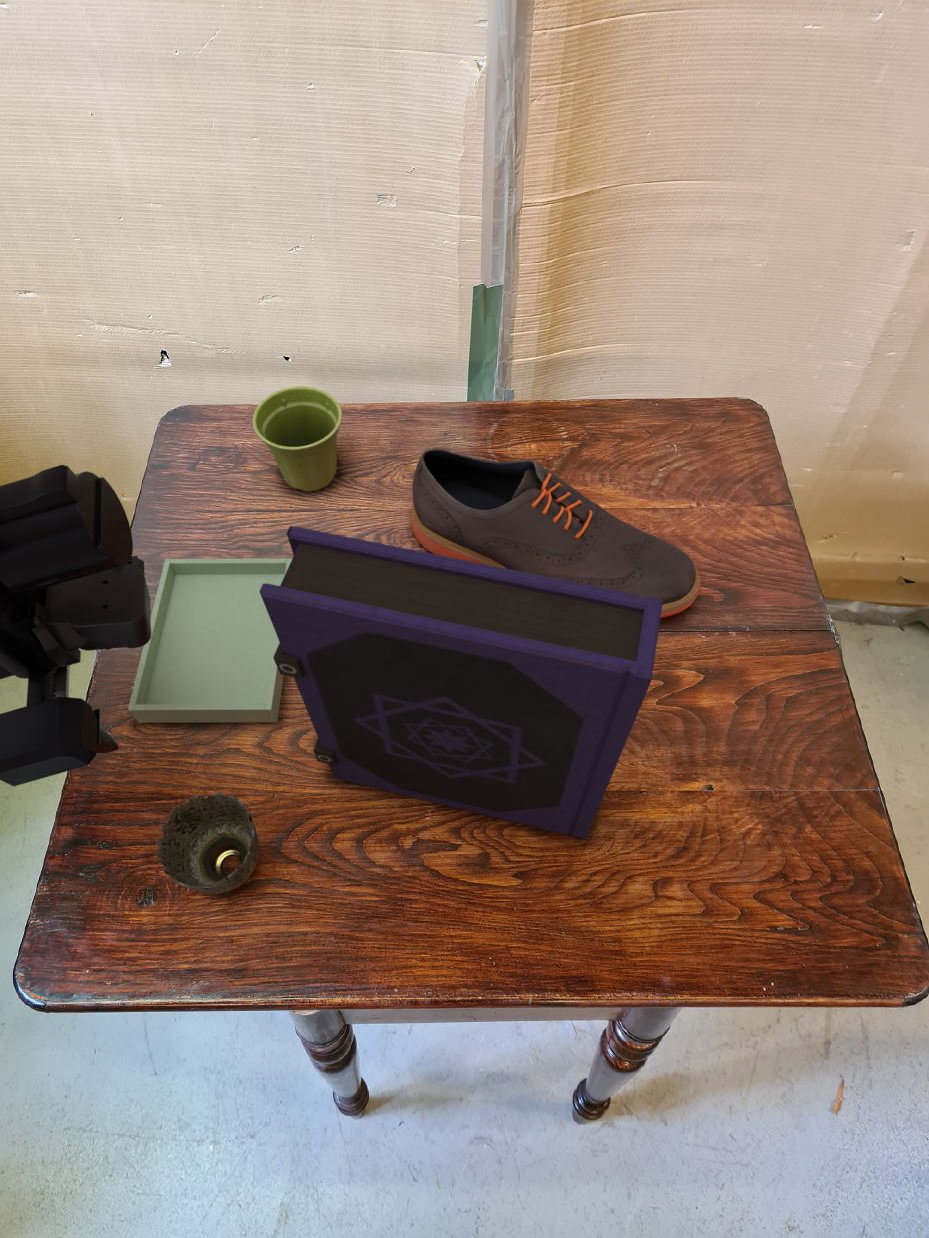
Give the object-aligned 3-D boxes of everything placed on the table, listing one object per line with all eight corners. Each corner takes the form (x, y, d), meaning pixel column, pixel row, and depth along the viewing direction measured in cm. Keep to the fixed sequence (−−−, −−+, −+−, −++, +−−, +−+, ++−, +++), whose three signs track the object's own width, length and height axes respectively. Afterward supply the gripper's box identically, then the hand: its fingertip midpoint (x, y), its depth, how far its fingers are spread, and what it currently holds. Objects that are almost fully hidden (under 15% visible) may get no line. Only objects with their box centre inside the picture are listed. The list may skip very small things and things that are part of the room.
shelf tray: (138, 722, 75) (127, 710, 73) (173, 574, 84) (164, 558, 82) (277, 722, 75) (271, 709, 73) (297, 573, 84) (292, 558, 82)
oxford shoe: (680, 652, 79) (709, 588, 69) (391, 565, 85) (380, 494, 75) (702, 567, 84) (732, 496, 75) (429, 490, 90) (424, 416, 81)
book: (596, 777, 72) (664, 592, 46) (584, 845, 69) (651, 684, 43) (348, 720, 75) (286, 517, 50) (326, 781, 72) (247, 598, 46)
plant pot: (330, 432, 95) (318, 375, 88) (365, 483, 91) (356, 427, 83) (257, 461, 93) (239, 405, 85) (289, 515, 88) (273, 461, 81)
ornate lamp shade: (185, 917, 66) (152, 894, 59) (188, 830, 70) (157, 799, 63) (276, 902, 66) (254, 878, 60) (273, 816, 70) (252, 784, 63)
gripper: (99, 687, 44) (218, 778, 57) (102, 447, 54) (204, 573, 67) (-92, 742, 44) (71, 820, 58) (-54, 493, 54) (78, 609, 67)
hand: (112, 696), depth 62 cm, fingers open, 9 cm apart
